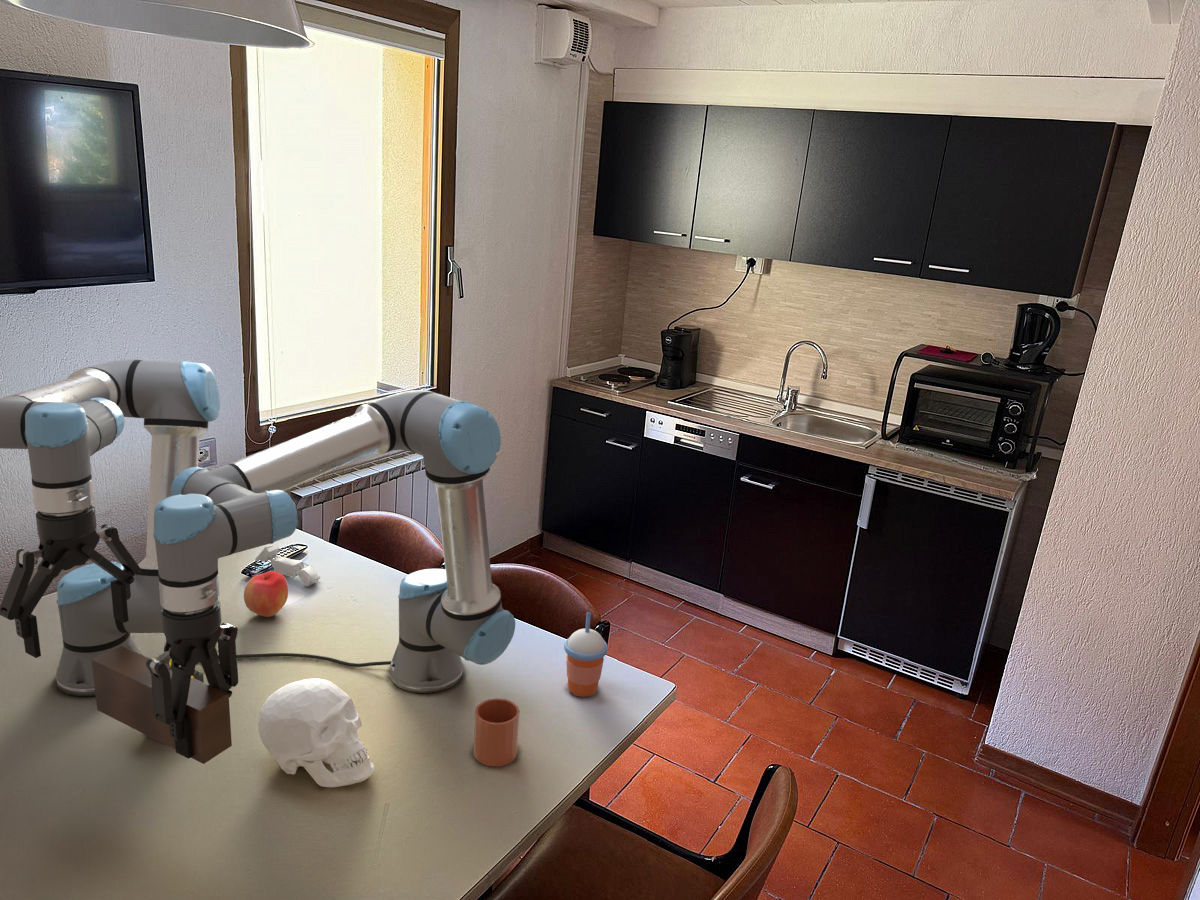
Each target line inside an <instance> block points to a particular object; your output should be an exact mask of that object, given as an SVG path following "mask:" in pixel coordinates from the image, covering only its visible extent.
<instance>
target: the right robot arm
mask: <svg viewBox="0 0 1200 900" xmlns="http://www.w3.org/2000/svg"><path fill="white" fill-rule="evenodd" d="M501 436H502V435H501V430H500V427H499V424H498V421H497V419H496V418H495V417H494V416H493V414H492V413H491V412H489V411H488V410H487V409H485V408H483V407H481V406H479V405H477V404H475V403H473V402H470V401H467V400H459V399H456V398H453V397H450V396H447V395H443V394H440V393H437V392H434V391H431V390H427V389H414V390H413V389H412V390H407V391H401V392H397V393H394V394H389V395H387V396H383V397H381V398H377V399H375V400H372V401H370V402H367V403H364V404H361V405H360V406H358V407H357V408H356V410H355V413H354V414H352V415H349V416H347V417H344V418H341V419H339V420H336V421H334V422H332V423H329V424H327V425H324V426H321V427H319V428H316V429H314V430H311V431H309V432H306V433H304V434H300V435H299V436H296V437H293V438H291V439H289V440H288V439H287V440H286V441H283V442H280V443H278V444H276V445H272V446H271V447H268V448H266V449H263V450H260V451H258V452H256V453H253V454H250V455H248V456H244V457H243V458H240V459H238V460H234V461H232V462H230V463H227V464H225V465H222V466H220V467H217V468H214V469H209V468H207V467H205V468H204V467H200V466H198V467H192V468H188V469H186V470H184V471H182V472H181V473H180V474H179V475H178V476H177V477H176V478H175V479H174V481H173V483H172V486H171V492H170V493H171V497H168V498H166V499H164V500H162V501H160V502H159V503H158V504H157V506H156V507H155V510H154V533H153V535H154V539H155V545H156V554H157V563H158V572H159V593H160V604H161V606H162V610H161V614H162V626H163V632H164V633H163V634H164V637H165V643H164V647H163V652H162V653H161V654H160V655H159V656H158V657H156V658H157V659H154V657H153V658H152V657H151V658H150V657H149V658H150V659H149V660H148V661H147V662H146V666H147V668H148V669H149V671H150V673H151V681H152V694H153V707H154V718H155V719H157V720H159V721H161V722H163V723H165V724H167V725H169V729H170V736H171V738H173V739H175V747H176V750H175V753H176V754H178V755H180V756H182V757H184V758H186V759H188V760H189V759H192V758H191V757H192V756H193V749H192V736H191V723H190V718H189V717H187V716H185V712H186V706H187V700H188V694H189V687H190V681H191V676H192V675H193V674H194V672H195V670H196V666H197V665H199V664H200V665H201V668H202V669H203V674H204V675H205V678H206V681H207V684H208V685H210V686H212V687H214V688H216V689H219V690H221V691H223V692H225V693H228V694H229V698H231V697H232V695H233V691H232V690H231V688H235V687H237V685H238V684H239V672H238V659H247V658H248V659H249V658H251V659H252V658H275V657H276V658H277V657H280V658H281V657H284V658H285V657H287V658H289V657H290V658H305V659H315V660H319V661H320V660H321V661H328V662H331V663H335V664H338V665H342V666H346V667H352V668H364V667H372V666H373V667H374V666H389V679H390V681H391V682H392V683H393V684H394V685H395V686H396V687H398V688H399V689H401V690H404V691H407V692H410V693H416V694H430V693H431V694H432V693H438V692H441V691H445V690H447V689H450V688H451V687H453V686H455V685H456V684H457V683H458V682H459V681H460V680H461V679H462V676H463V672H464V664H463V660H462V658H463V659H464V660H465V661H469V662H472V663H473V664H475V665H480V666H484V665H489V664H490V663H493V662H494V661H496V660H497V659H498V658H500V656H502V654H504V652H505V651H506V650H507V648H508V647H509V645H510V644H511V642H512V639H513V637H514V636H515V631H516V618H515V617H514V615H513V614H512V613H511V612H510V610H508V609H504V608H503V606H502V594H501V590H500V588H499V586H497V584H494V583H493V579H492V569H491V558H490V546H489V535H488V523H487V513H486V502H485V493H484V481H483V479H485V478H486V477H487V476H488V474H489V473H490V470H491V467H492V466H493V464H494V463H495V462H496V460H497V458H498V456H497V453H499V452H500V449H501V443H502V439H501V438H502V437H501ZM392 451H408V452H412V453H413V454H416V455H419V456H422V458H423V465H424V471H425V472H424V473H425V478H426V479H427V480H428V481H429V482H431V483H433V484H434V485H435V492H436V500H437V501H436V502H437V509H438V518H439V519H438V520H439V527H440V537H441V544H442V554H443V562H444V568H424V569H420V570H417V571H413V572H410V573H409V574H407V575H405V576H404V577H403V578H402V579H401V581H400V583H399V594H398V595H397V597H398V643H397V645H396V648H395V651H394V653H393V656H392V659H391V660H386V661H370V662H369V661H368V662H362V663H361V662H360V663H357V662H348V661H345V660H344V661H343V660H340V659H336V658H334V657H329V656H323V655H316V654H308V653H295V652H294V653H293V652H291V653H290V652H270V653H269V652H268V653H245V654H244V653H243V654H237V643H236V641H237V637H238V633H239V632H238V631H239V627H237V626H235V625H232V624H230V623H227V622H224V621H223V622H222V611H221V602H220V600H219V599H220V579H219V559H221V558H225V557H228V556H231V555H234V554H238V553H242V552H244V551H249V550H252V549H256V548H259V547H263V546H268V545H274V543H276V542H278V541H281V540H283V539H287V538H289V537H291V536H292V535H293V534H294V533H295V531H296V530H297V526H298V510H297V507H296V504H295V502H294V500H293V498H292V497H291V496H290V495H289V494H288V492H286V491H288V490H290V489H292V488H294V487H296V486H300V485H301V484H304V483H306V482H308V481H311V480H313V479H315V478H318V477H319V476H322V475H325V474H327V473H329V472H331V471H334V470H336V469H338V468H341V467H343V466H346V465H348V464H350V463H353V462H355V461H357V460H359V459H361V458H364V457H366V456H369V455H370V454H373V455H376V456H382V455H385V454H388V453H389V452H392ZM216 646H217V648H216ZM171 659H172V662H171V667H170V666H169V661H170V660H171ZM170 669H171V670H172V679H171V677H170V673H169V670H170Z"/></svg>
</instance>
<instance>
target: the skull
mask: <svg viewBox="0 0 1200 900" xmlns="http://www.w3.org/2000/svg"><path fill="white" fill-rule="evenodd" d="M257 725H258V734H259V739H260V741H261V743H262V745H263V746H264V748H265V749H266V751H267V752H268V753H269V755H270V756H271V757H272V759H273V760H275V762H276V763H277V764H278V766H279V768H280V769H281V770H282V771H283V772H285V774H288V775H295V774H297V771H298V768H299V767H303V768H304V769H305V770H306V772H307V773H308V774H309V775H310V777H311V778H312V779H313V781H314V782H315V783H316V784H317V785H319V787H323V788H338V787H344V786H345V787H346V786H350V785H355V784H358V783H361V782H364V781H366V780H367V779H368V778H370V777H371V776H372V775H373V774H374V771H375V764H374V763H373V762H372V761H371V758H370V757H369V755H368V748H367V746H365V743H364V742H363V741H362V740H361V739H360V738H359V734H358V730H359V729H360V728H362V725H363V724H362V720H361V718H360V714H359V713H358V710H357V708H356V706H355V703H354V701H353V700H352V698H351V696H350V695H348V694H347V693H346V692H345V691H344V690H342V689H341V688H340V687H339V686H337V685H336V684H335V683H334V682H332V681H330V680H328V679H325V678H321V677H320V678H318V677H312V678H311V677H310V678H304V679H300V680H296V681H293V682H290V683H289V682H288V683H287V684H285V685H283V686H282V687H280V688H277V689H276V690H275V691H274V692H272V693H271V694H269V695H268V697H267V699H266V700H265V701H264V703H263V704H262V706H261V709H260V710H259V715H258V723H257ZM324 763H326V764H328V765H330V768H332V772H331V770H328V769H327V768H326V766H325V764H324Z"/></svg>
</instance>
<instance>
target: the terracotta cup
mask: <svg viewBox="0 0 1200 900" xmlns="http://www.w3.org/2000/svg"><path fill="white" fill-rule="evenodd" d="M520 714H521V711H520V708H519V705H517V704H516V703H515V702H514V701H512V700H509V699H506V698H498V697H497V698H490V699H489V698H488V699H486V700H483V701H481V702H480V703H479V704H478V705H476V707H475V710H474V725H473V726H474V727H473V728H474V729H473V756H474V758H475V760H476V761H477V762H479V763H480V764H482V765H485V766H487V767H502V766H506V765H508V764H510V763H512V762H513V761H514V760H515V759H516V758H517V755H518V745H519V730H520Z"/></svg>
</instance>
